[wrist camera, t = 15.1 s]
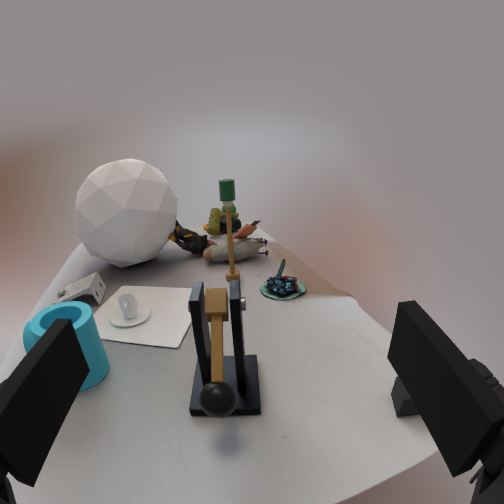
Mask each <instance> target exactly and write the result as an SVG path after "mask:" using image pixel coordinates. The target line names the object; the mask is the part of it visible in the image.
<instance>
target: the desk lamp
mask: <svg viewBox="0 0 504 504" xmlns="http://www.w3.org/2000/svg"><path fill="white" fill-rule="evenodd" d="M219 190H220V201H223V205H224V206H225V207H226V221H227V236H228V251H229V265H230V270H229V271H227V272H226V273H225V274H226V280H227V281H231V280H239V279H240V273H239V271H237V270H235V268H234V253H233V238H232V222H231V206H232V204H233V200H235V186H234V180H233V179H225V180H219Z"/></svg>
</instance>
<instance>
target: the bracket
mask: <svg viewBox="0 0 504 504" xmlns="http://www.w3.org/2000/svg"><path fill="white" fill-rule="evenodd" d="M99 282H100V283H101V285H102V287H101V286H100V283H99ZM105 290H106V286H105V284H104V283H103V281H102V279H101V278H100V276H99V274H98V272H97V271H96V272H94V273H92V274H90V275H88V276H86V277H84V278H82V279H80V280H78V281H77V282H75V283H70V284H68V285H66V286H64V287H62V288H61V289H60V290H59V292H58V295H59V296H61V295H63V294H65V293H66V294H65V295H64V296H63V297H61V298H60V299H59V300H57V301H55V302H53V303H52V304H51V305H50V306H52V305H55V304H58V303H62V302H68V301H70V300H72V299H74V298H76V297H79V296H81V295H83V294H90V295H93V296H94V297H95V299H96V301H97V302H98V304H99V305H100V304H101V301H102V298H103V296H104V293H105ZM95 291H96V292H97V293H98V296H97V295H96V292H95Z"/></svg>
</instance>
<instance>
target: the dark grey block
mask: <svg viewBox="0 0 504 504" xmlns="http://www.w3.org/2000/svg"><path fill="white" fill-rule="evenodd" d="M391 395H392V399H393V403H394V407H395V411H396V414H397V417H400V416H409V415H417V414H420V413H419V412H418V410H417V408H416V406H415V404H414V403H413V401H412V399H411V397H410V396H409V394H408V392H407V390H406V389H405V387H404V385H403V383H402V382H401V380H400V378H399V377H396V380H395V383H394V386H393V389H392V393H391Z"/></svg>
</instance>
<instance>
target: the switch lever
mask: <svg viewBox="0 0 504 504" xmlns="http://www.w3.org/2000/svg"><path fill="white" fill-rule="evenodd" d="M205 314H206V317H207V320H208V322H211V382H210V383H208V384H206V385H205V386H204V387H203V388H202V390H201V392H200V394H199V403H200V406H201V408H202V409H203V411H204V412H205V413H206V414H208V415H210V416H212V417H218V418H220V417H225V416H227V415H229V414H231V413H232V412H233V411H234V409H235V408H236V405H237V394H236V392H235V390H234V388H233V387H232V386H231V385H229V384H228V383H226V382H224V363H223V321H229V320H228V295H227V289H226V288H210V289H205Z"/></svg>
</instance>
